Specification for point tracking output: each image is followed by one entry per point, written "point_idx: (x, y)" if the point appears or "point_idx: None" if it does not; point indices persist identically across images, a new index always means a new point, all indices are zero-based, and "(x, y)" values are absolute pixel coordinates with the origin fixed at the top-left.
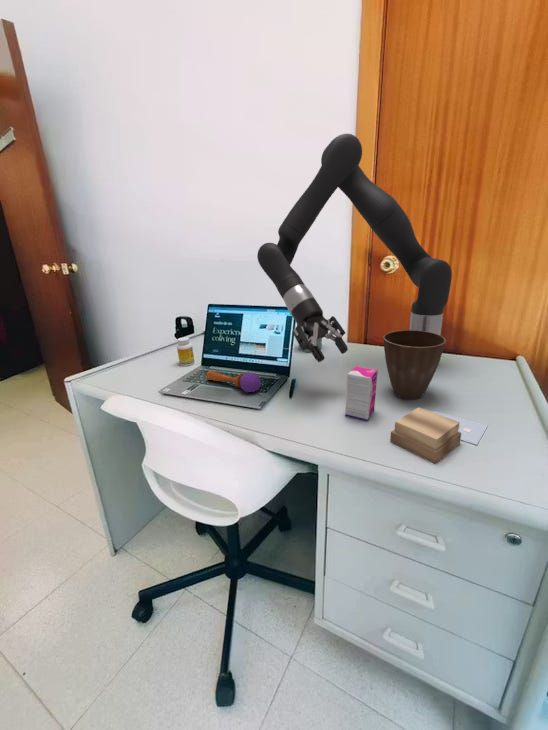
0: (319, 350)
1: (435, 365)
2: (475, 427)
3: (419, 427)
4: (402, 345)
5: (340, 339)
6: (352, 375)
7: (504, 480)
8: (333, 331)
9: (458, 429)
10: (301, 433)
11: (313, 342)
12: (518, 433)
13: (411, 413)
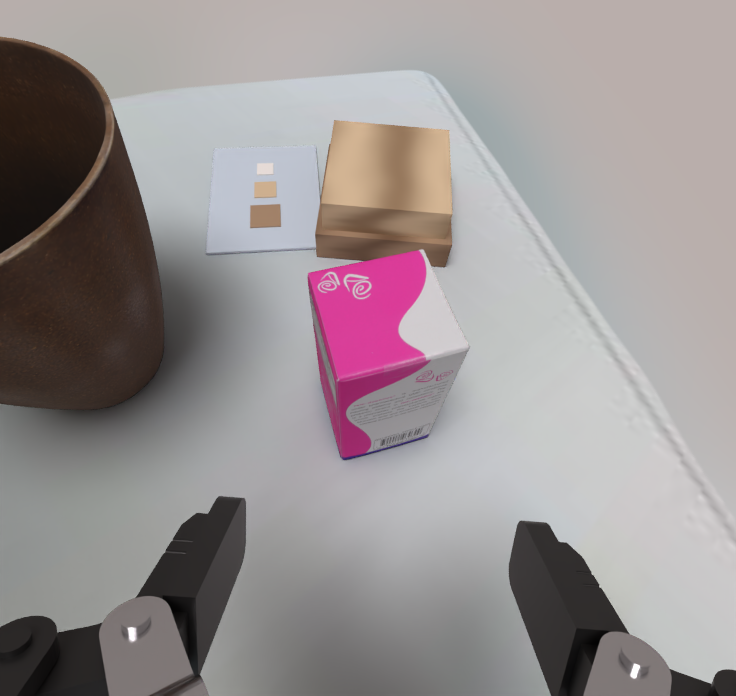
0: (565, 577)
1: (59, 161)
2: (238, 161)
3: (430, 166)
4: (104, 140)
5: (189, 584)
6: (457, 324)
7: (396, 102)
8: (203, 687)
9: (273, 182)
10: (638, 481)
11: (642, 681)
12: (207, 111)
13: (374, 203)
